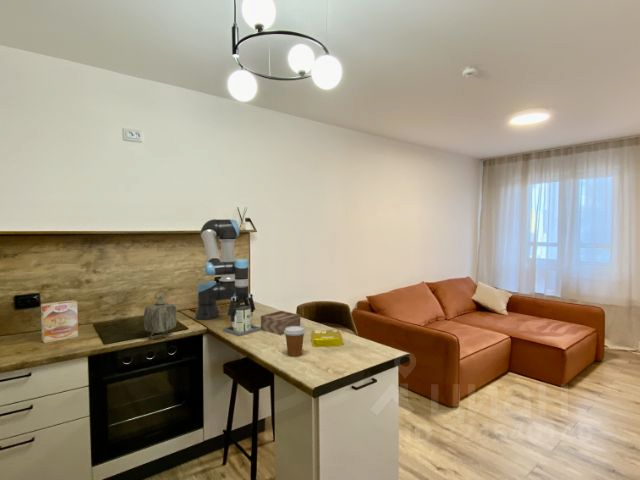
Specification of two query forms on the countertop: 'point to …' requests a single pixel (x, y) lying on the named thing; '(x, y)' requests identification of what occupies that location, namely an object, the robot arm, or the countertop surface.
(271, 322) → the block
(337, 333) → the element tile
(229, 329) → the gray square frame
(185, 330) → the countertop surface
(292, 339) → the disposable coffee cup
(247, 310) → the coffee can
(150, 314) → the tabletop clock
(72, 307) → the coffeecake box
